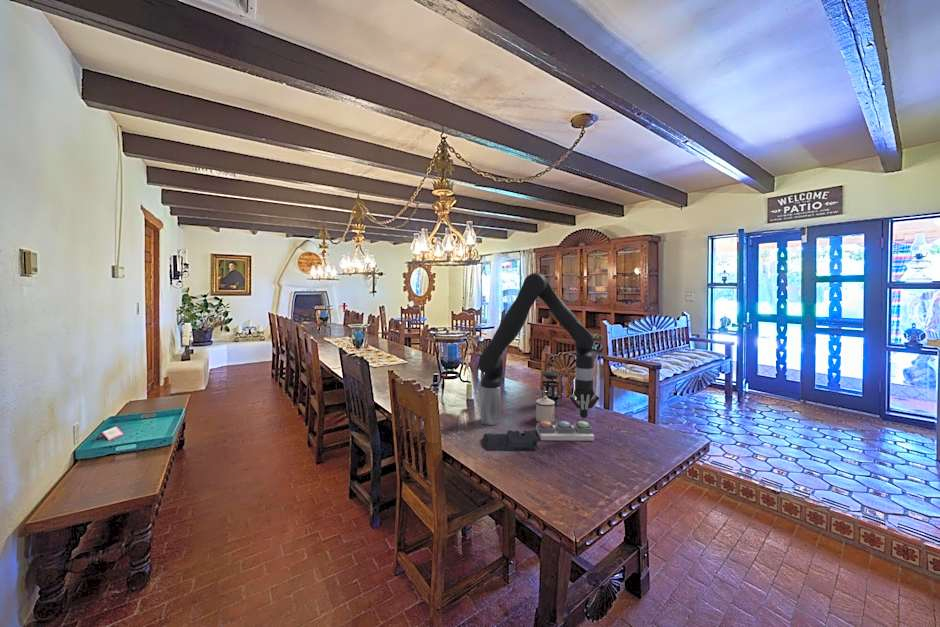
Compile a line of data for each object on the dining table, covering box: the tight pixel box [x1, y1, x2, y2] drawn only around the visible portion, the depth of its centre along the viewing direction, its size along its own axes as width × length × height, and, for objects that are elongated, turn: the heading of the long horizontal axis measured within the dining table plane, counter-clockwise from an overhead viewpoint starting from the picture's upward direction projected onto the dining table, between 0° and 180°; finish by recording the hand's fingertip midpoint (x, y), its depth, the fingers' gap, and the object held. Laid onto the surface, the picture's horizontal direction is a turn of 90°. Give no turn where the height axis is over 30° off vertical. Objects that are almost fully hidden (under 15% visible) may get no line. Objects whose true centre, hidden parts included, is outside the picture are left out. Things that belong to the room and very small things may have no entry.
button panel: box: [535, 422, 595, 442], centre depth 162 cm, size 22×12×4 cm, turn 90°
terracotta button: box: [540, 421, 551, 428], centre depth 161 cm, size 4×4×2 cm
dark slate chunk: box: [482, 429, 539, 452], centre depth 153 cm, size 15×22×5 cm
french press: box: [541, 361, 563, 408], centre depth 203 cm, size 12×9×23 cm
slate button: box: [558, 420, 571, 428], centre depth 161 cm, size 4×4×2 cm
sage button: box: [577, 420, 589, 428], centre depth 161 cm, size 4×4×2 cm
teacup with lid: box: [535, 395, 555, 424], centre depth 180 cm, size 12×9×12 cm
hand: (583, 417), depth 161 cm, fingers closed
